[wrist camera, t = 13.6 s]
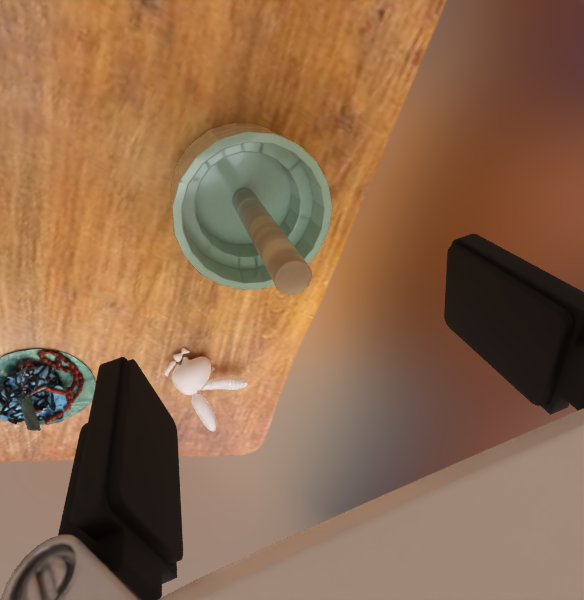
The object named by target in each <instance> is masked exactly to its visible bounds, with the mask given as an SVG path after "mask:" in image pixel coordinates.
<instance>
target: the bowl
mask: <svg viewBox="0 0 584 600" xmlns="http://www.w3.org/2000/svg"><path fill="white" fill-rule="evenodd" d="M243 188H246V189H250V190H251V191H253V192H254V194H255V195H256V196H257V198H258V199H259V200H260V202H261V203H262V204H263V206H264V207H265V208H266V210H267V211H268V212H269V214H270V215H271V216H272V218H273V219H274V220H275V222H276V223H277V224H278V226H279V227H280V228H281V230H282V231H283V232H284V234H285V235H286V236H287V237H288V239H289V240H290V241H291V243H292V244H293V245H294V247H295V248H296V249H297V251H298V252H299V253H300V255H301V256H302V257H303V259H304V260H305V261H306V263H307V264H309V262H310V261H311V260H312V259H313V258H314V257H315V255H316V254H317V253H318V251H319V250H320V248H321V246H322V244H323V241H324V239H325V237H326V235H327V233H328V230H329V224H330V217H331V211H332V205H331V198H330V192H329V185H328V182H327V180H326V178H325V176H324V174H323V172H322V171H321V169H320V167H319V165H318V163H317V162H316V160H315V159H314V158H312V157H311V156H310V155H309V154H308V153H307V152H306V151H305V150H304V149H303V148H302V147H301V146H300V145H298V144H297V143H295V142H293V141H291V140H289V139H288V138H286V137H284V136H282V135H280V134H278V133H276V132H274V131H271V130H269V129H267V128H265V127H263V126H260V125H257V124H246V123H230V124H227V125H223V126H220V127H216V128H213V129H211V130H209V131H207V132H206V133H204V134H203V135H202V136H200V137H199V138H198V139H196V140H195V141H193V142H192V143H191V144H190V145H189V147H188V148H187V150H186V151H185V152H184V154H183V155H182V157H181V158H180V160H179V161H178V163H177V165H176V169H175V172H174V176H173V180H172V184H171V197H172V212H173V226H174V234H175V236H176V238H177V241H178V243H179V245H180V248H181V250H182V252H183V255H184V256H185V257H186V258H187V259H188V261H189V262H190V263H191V264H192V265H193V266H194V267H195V268H196V269H197V271H198V272H199V273H200V274H202V275H204V276H206V277H207V278H209V279H211V280H212V281H214V282H216V283H218V284H219V285H223V286H228V287H232V288H236V289H241V290H249V289H264V288H267V287H270V286H273V285H275V284H274V282H273V280H272V278H271V277H270V275H269V273H268V271H267V269H266V267H265V265H264V263H263V261H262V259H261V258H260V256H259V254H258V252H257V250H256V248H255V246H254V244H253V242H252V240H251V239H250V237H249V235H248V233H247V231H246V229H245V227H244V225H243V223H242V221H241V220H240V218H239V216H238V214H237V212H236V210H235V208H234V206H233V203H232V198H233V195H234V194H235V192H236V191H238V190H239V189H243Z"/></svg>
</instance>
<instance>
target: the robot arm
mask: <svg viewBox="0 0 584 600" xmlns="http://www.w3.org/2000/svg"><path fill="white" fill-rule="evenodd" d="M444 318H445V321H446V324H447V325H448V327H449V328H450V329H452V331H454V332H455V333H456V334H457V335H458V336H459V337H460V338H461V339H463V341H465V342H466V343H467V344H468V345H469V346H470V347H471V348H472V349H473V350H474V351H476V352H477V353H478V354H479V355H480V356H481V357H482V358H483V359H484V360H485V361H487V362H488V363H489V364H490V365H491V366H492V367H493V368H494V369H495V370H496V371H497V372H498V373H500V374H501V375H502V376H503V377H504V378H505V379H506V380H507V381H508V382H509V383H511V384H512V385H513V386H514V387H515V388H516V389H517V390H518V391H519V392H520V393H521V394H523V395H524V396H525V397H526V398H527V399H528V400H529V401H530V402H532V403H533V404H535V405H538V406H541V407H543V408H544V409H545V410H546V411H547V412H548V413H549V414H553V413H556V412H558V411H560V410H562V409H565V408H567V407H568V406H569V403H570V404H571V405H572V406H573V407H575V408H576V409H577V411H576V412H573V413H571V414H569V415H566V416H564V417H562V418H559V419H557V420H555V421H552V422H550V423H548V424H546V425H543V426H541V427H539V428H536V429H534V430H532V431H529V432H527V433H525V434H522V435H520V436H518V437H515V438H513V439H511V440H509V441H506V442H504V443H502V444H499V445H497V446H495V447H492V448H490V449H488V450H485V451H483V452H481V453H479V454H476V455H474V456H472V457H470V458H467V459H465V460H463V461H461V462H458V463H456V464H454V465H451V466H449V467H447V468H444V469H442V470H440V471H437V472H435V473H433V474H431V475H428V476H426V477H424V478H421V479H420V480H417V481H415V482H412V483H410V484H408V485H406V486H403V487H401V488H399V489H397V490H394V491H392V492H390V493H387V494H385V495H383V496H381V497H378V498H376V499H374V500H371V501H369V502H367V503H365V504H362V505H360V506H358V507H356V508H353V509H351V510H349V511H347V512H344V513H342V514H340V515H338V516H335V517H333V518H331V519H329V520H326V521H324V522H322V523H320V524H317V525H315V526H313V527H311V528H309V529H306V530H304V531H302V532H299V533H297V534H295V535H293V536H291V537H288V538H286V539H284V540H281V541H279V542H277V543H275V544H273V545H270V546H268V547H266V548H264V549H261V550H259V551H257V552H255V553H253V554H251V555H249V556H246V557H244V558H242V559H240V560H238V561H236V562H233V563H231V564H229V565H227V566H225V567H223V568H221V569H218V570H216V571H214V572H212V573H210V574H208V575H206V576H203V577H201V578H199V579H197V580H195V581H193V582H191V583H189V584H187V585H185V586H184V587H181V588H180V589H178V590H176V591H174V592H172V593H170V594H168V595H167V596H164V597H162V598H161V596H162V584H163V583H166V582H168V581H170V580H172V579H175V578H177V565H176V562H177V561H180V560H181V559H182V556H183V541H182V520H181V502H180V501H181V500H180V480H179V459H178V439H177V429H176V425H175V422H174V420H173V418H172V417H171V415H170V414H169V412H168V411H167V409H166V408H165V406H164V404H163V403H162V401H161V400H160V398H159V397H158V395H157V394H156V392H155V391H154V389H153V387H152V386H151V384H150V383H149V381H148V380H147V378H146V377H145V375H144V374H143V372H142V371H141V369H140V367H139V366H138V364H137V363H136V362H135V360H133V359H132V360H129V361H128V360H127V359H126V358H124V357H121V358H118V359H115V360H112V361H110V362H107V363H104V364H101V365H100V367H99V371H98V376H97V381H96V386H95V391H94V396H93V401H92V406H91V411H90V416H89V421H88V423H86V424H85V425H84V426H83V427H82V429H81V432H80V435H79V440H78V445H77V450H76V454H75V459H74V464H73V468H72V473H71V478H70V483H69V487H68V492H67V496H66V501H65V506H64V511H63V515H62V520H61V525H60V529H59V534H58V536H56V537H53V538H50V539H48V540H46V541H45V542H43V543H41V544H40V545H38V546H37V547H36V548H35V549H34V550H32V551H31V552H30V553H29V554H28V555H27V556H26V557H25V558H24V559H23V560H22V561H21V563H20V564H19V565H18V566H17V568H16V569H15V570H14V572H13V573H12V575H11V577H10V579H9V581H8V582H7V584H6V586H5V589H4V592H3V594H2V597H1V600H584V292H582V291H580V290H578V289H577V288H575V287H573V286H571V285H569V284H567V283H566V282H564V281H562V280H560V279H558V278H556V277H555V276H553V275H551V274H549V273H547V272H545V271H543V270H541V269H539V268H538V267H536V266H534V265H532V264H531V263H529V262H527V261H525V260H523V259H521V258H519V257H517V256H516V255H514V254H512V253H510V252H508V251H506V250H504V249H503V248H501V247H499V246H497V245H495V244H494V243H492V242H489V241H488V240H486V239H484V238H482V237H480V236H478V235H477V234H470V235H468V236H465V237H461V238H459V239H456V240H454V241H453V243H452V245H451V247H449V249H448V254H447V274H446V293H445V313H444Z"/></svg>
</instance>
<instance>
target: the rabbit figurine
mask: <svg viewBox="0 0 584 600" xmlns="http://www.w3.org/2000/svg"><path fill="white" fill-rule="evenodd" d="M185 353H189V351H188V350H187V349H185V348H182V351H181V353H179V354H174V356H173V358H174V359H175V361H176V362H180V361H181V359H182V355H183V354H185ZM175 361H172V362H170V364H169V365H168V366H167V368H166V369H165V372H164V373H165V375H166V376H168V373H169V372H170V371H171V369H172V368H173V367H174V366H175V364H176V362H175ZM213 370H215V369H214V367H213V368H212V369H211V363H210V361H209V359H208V358H206V357H197V358H195V359H192V360H188V357H183V361H182V364H181V365H176V367H175V369H174V371H173V373H172V382H173V383H174V385H175V387H176V388H177V389H178V390H179V391H180V392H182V393H183V394H186V395H194V396H193V397H192V405H193V407H194V409H195V411H196V413H197V414H198V416H199V417H200V418H201V420H202V422H203V423H204V425H205V426H206V427H207V428H208V429H209V430H210V431H215V430H216V416H215V413H214V411H213V409H212V407H211V405H210V404H209V403H208V401H207V400H206V399H205V398H204V396H202V395H201V394H196V393H197V391H199V390H201V391H205V390H213V389H230V390H238V389H241V388H244V387H246V386H247V384H248V382H247V381H246V380H245V379H244V378H239V377H235V376H221V377H215V378H213V379H211V380H209V381H208V379H209V377H210V374H211V372H212V371H213Z"/></svg>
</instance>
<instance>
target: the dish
mask: <svg viewBox="0 0 584 600" xmlns="http://www.w3.org/2000/svg"><path fill="white" fill-rule="evenodd" d="M43 350H44V349H32V350H26V351H18V352H14V353H11V354H7V355H5V356H3V357H1V358H0V420H3V421H10V422H11V423H14V424H17V422H22V421H25V423H26V425H27V429H28V430H38V431H40V425H45V424H46V425H48V424H52V423H58V422H61V421H63V420H65V419H67V418H69V417H71V416H72V415H74V414H76V413H78V412H80V411H81V410H83V409H84V408H85V407H86V406H87V405H88V404H89V403H90V402H91V400H92V398H93V396H94V391H95V386H96V384H95V380H94V377H93V375H92V373H91V371H90V370H89V369H88V368H87V367H86V366H85V365H84V364H83V363H82V362H80V361H79V360H77V359H76V358H75V357H73V356H71V355H69V354H66V353H63V352H60V351H57V352H58V353H57V354H56V353H54V352H53V350H51V351H50V352H44V351H43Z"/></svg>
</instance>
